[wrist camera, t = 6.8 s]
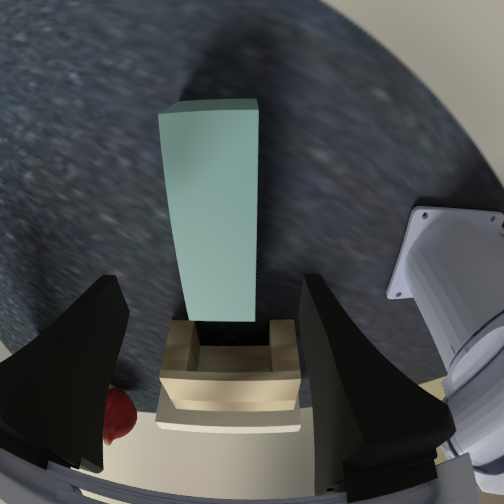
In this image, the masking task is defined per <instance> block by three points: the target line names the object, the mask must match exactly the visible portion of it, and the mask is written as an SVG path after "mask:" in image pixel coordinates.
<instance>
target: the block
mask: <svg viewBox="0 0 504 504" xmlns="http://www.w3.org/2000/svg"><path fill="white" fill-rule="evenodd" d="M159 379H160V380H161V382H162V384H163V386H164V388H165V390H166V392H167V393H168V395H169V397H170V399H171V400H172V402H173V404H174V406H175V407H176V409H187V410H203V411H282V410H294V407H295V403H296V399H297V395H298V390H299V386H300V382H301V373H300V364H299V356H298V348H297V340H296V333H295V325H294V319H285V320H270V327H269V346H200V342H199V338H198V334H197V330H196V326H195V322H194V321H192V320H171V324H170V329H169V333H168V337H167V342H166V346H165V351H164V356H163V361H162V365H161V370H160V375H159Z"/></svg>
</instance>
